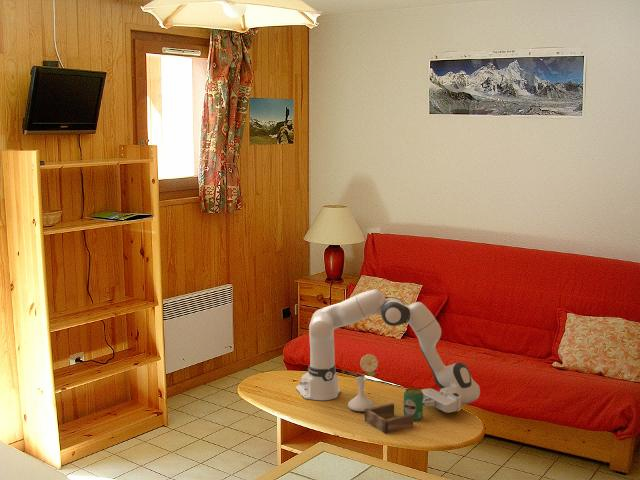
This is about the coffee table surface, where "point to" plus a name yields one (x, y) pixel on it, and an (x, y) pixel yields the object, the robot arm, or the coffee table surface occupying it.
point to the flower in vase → (361, 400)
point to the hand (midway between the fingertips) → (422, 403)
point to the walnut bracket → (386, 426)
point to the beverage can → (413, 403)
